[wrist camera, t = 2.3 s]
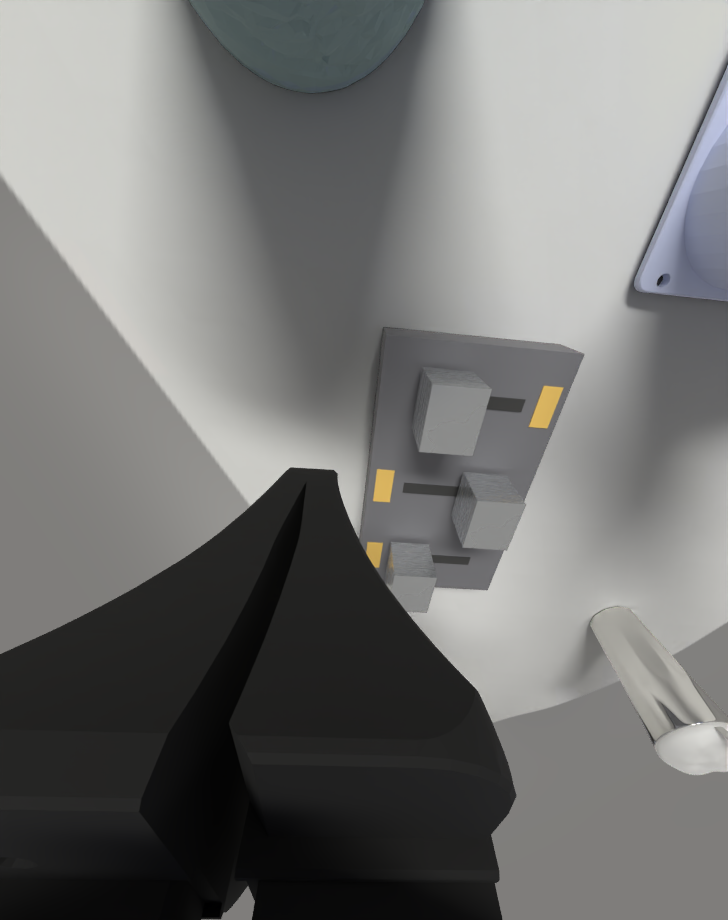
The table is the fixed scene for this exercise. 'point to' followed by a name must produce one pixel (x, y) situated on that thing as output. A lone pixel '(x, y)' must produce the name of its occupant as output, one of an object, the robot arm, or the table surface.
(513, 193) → the table surface
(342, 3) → the teal plant pot
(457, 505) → the knob
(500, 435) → the switch panel
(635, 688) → the milkshake
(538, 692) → the table surface
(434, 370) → the knob
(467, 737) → the robot arm
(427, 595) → the knob
